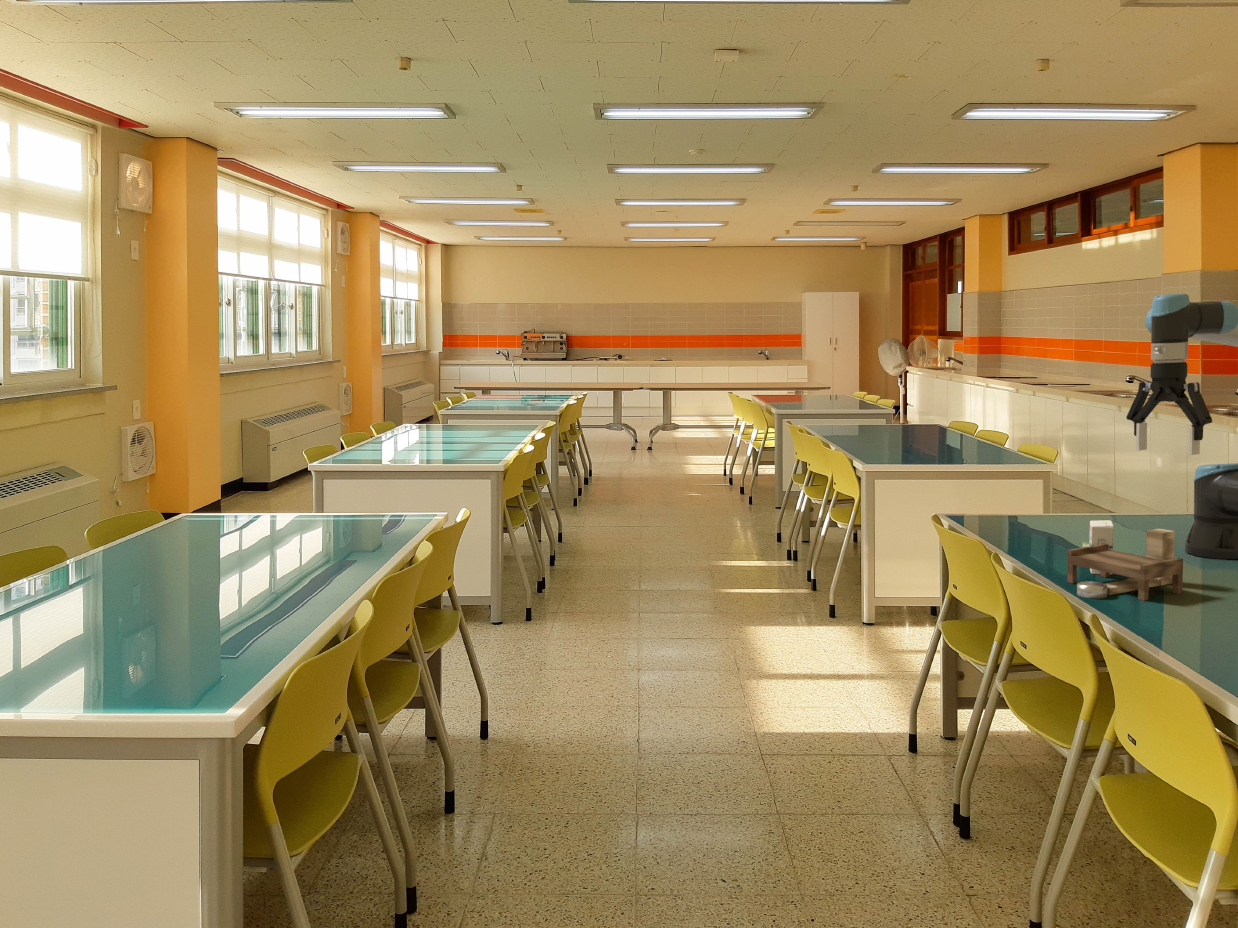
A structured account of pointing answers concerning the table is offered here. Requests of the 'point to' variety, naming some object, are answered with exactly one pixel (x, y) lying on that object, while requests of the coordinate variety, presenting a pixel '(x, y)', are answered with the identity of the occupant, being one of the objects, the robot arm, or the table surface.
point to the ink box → (1101, 536)
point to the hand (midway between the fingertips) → (1167, 452)
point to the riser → (1125, 567)
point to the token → (1092, 589)
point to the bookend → (1157, 548)
